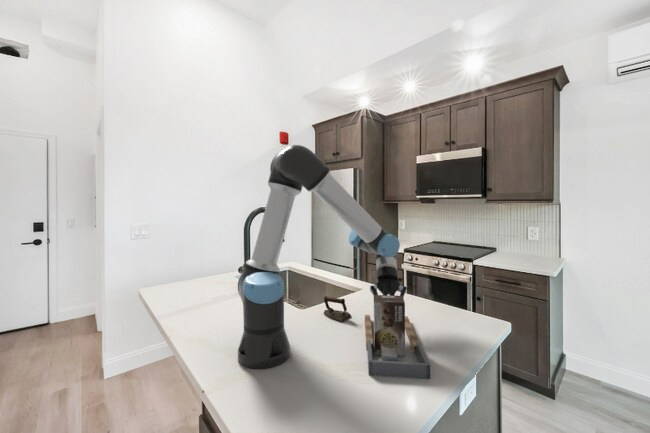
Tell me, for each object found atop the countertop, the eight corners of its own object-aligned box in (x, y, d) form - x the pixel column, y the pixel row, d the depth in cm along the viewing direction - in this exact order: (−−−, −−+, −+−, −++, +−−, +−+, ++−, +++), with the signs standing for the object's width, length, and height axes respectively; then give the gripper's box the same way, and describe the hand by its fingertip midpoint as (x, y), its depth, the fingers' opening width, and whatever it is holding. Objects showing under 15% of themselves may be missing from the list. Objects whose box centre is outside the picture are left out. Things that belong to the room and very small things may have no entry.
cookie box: (402, 346, 93) (403, 295, 92) (405, 356, 87) (405, 302, 86) (373, 344, 95) (373, 294, 94) (373, 354, 88) (373, 301, 87)
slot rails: (420, 353, 89) (420, 346, 89) (366, 350, 91) (366, 344, 91) (407, 321, 113) (407, 316, 113) (364, 319, 115) (364, 314, 114)
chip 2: (397, 371, 80) (397, 357, 79) (382, 370, 80) (382, 356, 80) (396, 363, 84) (396, 349, 83) (381, 362, 84) (381, 348, 84)
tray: (430, 378, 76) (430, 365, 76) (368, 375, 78) (368, 361, 78) (419, 353, 89) (419, 341, 89) (367, 350, 91) (367, 339, 91)
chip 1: (395, 363, 84) (396, 349, 83) (381, 362, 84) (381, 348, 84) (394, 356, 87) (394, 342, 87) (380, 355, 88) (380, 341, 88)
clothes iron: (343, 324, 112) (336, 298, 112) (320, 324, 118) (313, 300, 118) (352, 316, 117) (346, 292, 118) (330, 317, 124) (324, 293, 124)
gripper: (403, 276, 113) (410, 340, 97) (368, 275, 114) (370, 338, 98) (406, 265, 107) (414, 331, 91) (369, 264, 109) (371, 329, 93)
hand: (391, 334), depth 95 cm, fingers closed
